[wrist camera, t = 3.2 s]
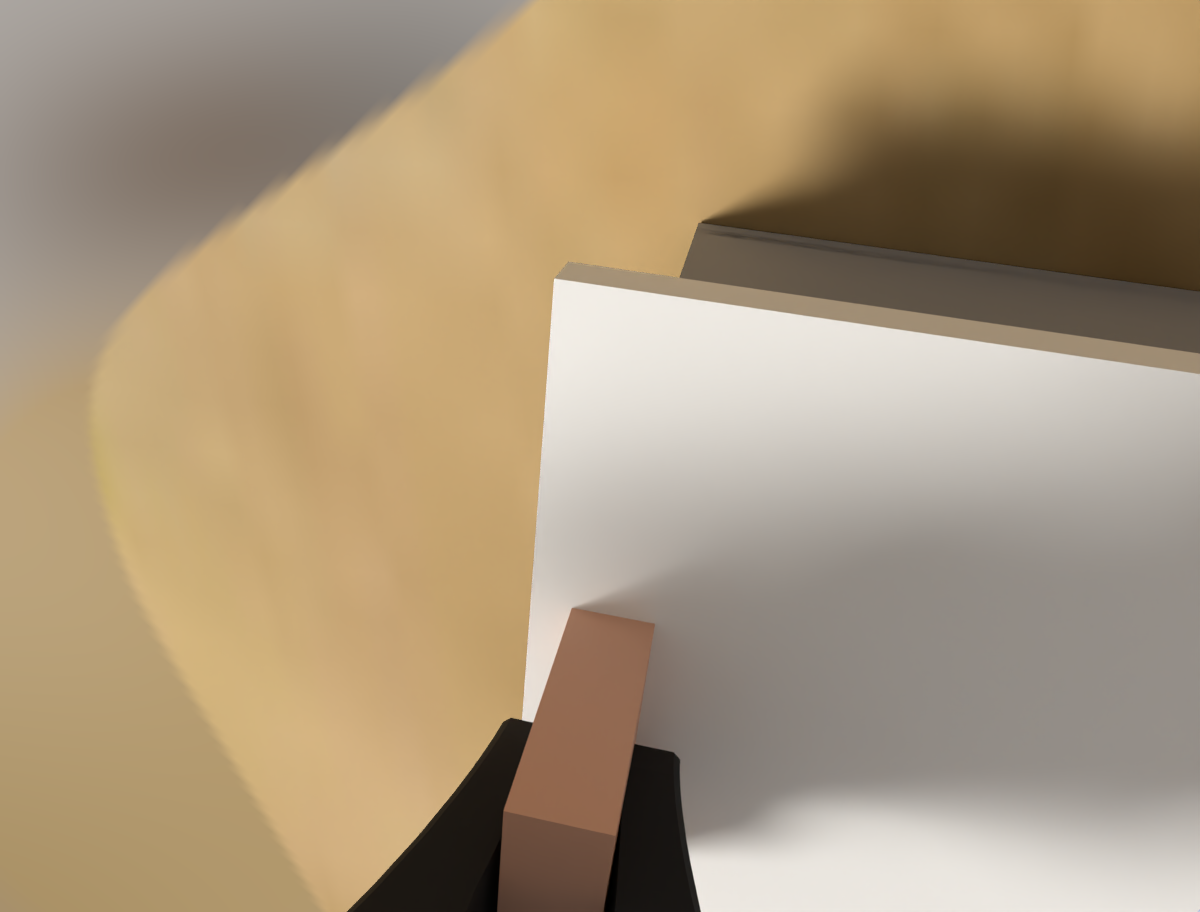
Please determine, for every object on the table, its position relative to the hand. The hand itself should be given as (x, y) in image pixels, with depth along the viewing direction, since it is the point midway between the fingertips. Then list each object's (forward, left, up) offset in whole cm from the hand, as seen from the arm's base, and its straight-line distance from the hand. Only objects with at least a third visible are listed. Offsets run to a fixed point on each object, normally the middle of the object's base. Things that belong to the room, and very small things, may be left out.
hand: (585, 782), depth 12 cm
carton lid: (-4, 0, -2) cm, 4 cm away
